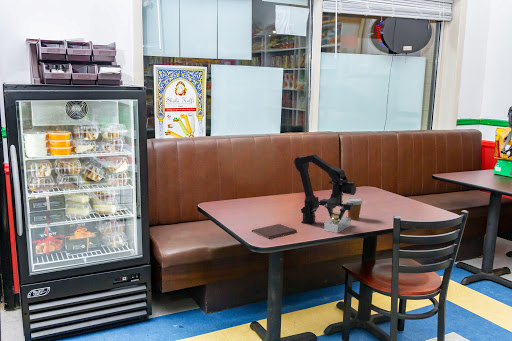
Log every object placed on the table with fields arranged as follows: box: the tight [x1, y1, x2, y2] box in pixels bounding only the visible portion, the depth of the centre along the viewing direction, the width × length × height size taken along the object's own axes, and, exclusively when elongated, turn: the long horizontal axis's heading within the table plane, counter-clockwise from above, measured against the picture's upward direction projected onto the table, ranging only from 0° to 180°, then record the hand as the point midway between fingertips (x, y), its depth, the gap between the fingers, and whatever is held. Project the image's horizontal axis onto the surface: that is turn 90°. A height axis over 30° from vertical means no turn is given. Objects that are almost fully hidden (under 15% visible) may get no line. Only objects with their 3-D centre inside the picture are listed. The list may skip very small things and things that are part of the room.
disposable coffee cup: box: [345, 197, 363, 221], centre depth 290 cm, size 10×10×12 cm
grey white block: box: [323, 215, 352, 234], centre depth 272 cm, size 8×18×4 cm, turn 146°
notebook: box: [251, 223, 298, 240], centre depth 263 cm, size 15×20×2 cm
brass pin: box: [330, 211, 340, 223], centre depth 269 cm, size 5×5×6 cm
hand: (335, 219), depth 269 cm, fingers closed on brass pin, 5 cm apart
